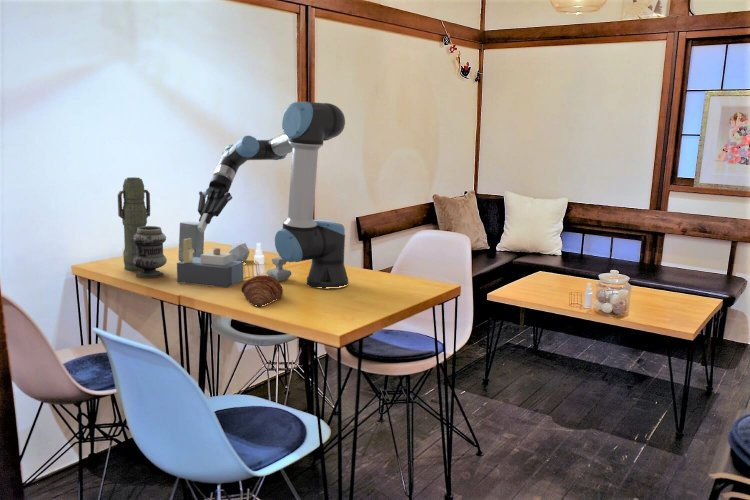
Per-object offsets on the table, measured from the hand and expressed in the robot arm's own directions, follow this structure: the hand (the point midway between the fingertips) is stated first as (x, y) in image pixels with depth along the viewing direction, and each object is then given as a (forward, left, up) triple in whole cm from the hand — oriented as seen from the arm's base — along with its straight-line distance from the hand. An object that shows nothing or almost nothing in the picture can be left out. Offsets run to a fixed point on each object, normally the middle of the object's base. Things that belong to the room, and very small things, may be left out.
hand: (200, 229), depth 235 cm
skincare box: (+36, -16, -19) cm, 44 cm away
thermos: (+34, +9, -19) cm, 40 cm away
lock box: (-1, -3, -19) cm, 19 cm away
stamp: (-14, -24, -19) cm, 34 cm away
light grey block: (-2, -5, -12) cm, 13 cm away
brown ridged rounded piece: (-32, -4, -20) cm, 38 cm away
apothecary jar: (+20, +10, -19) cm, 30 cm away
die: (+22, -30, -19) cm, 42 cm away
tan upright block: (+3, +3, -12) cm, 13 cm away
